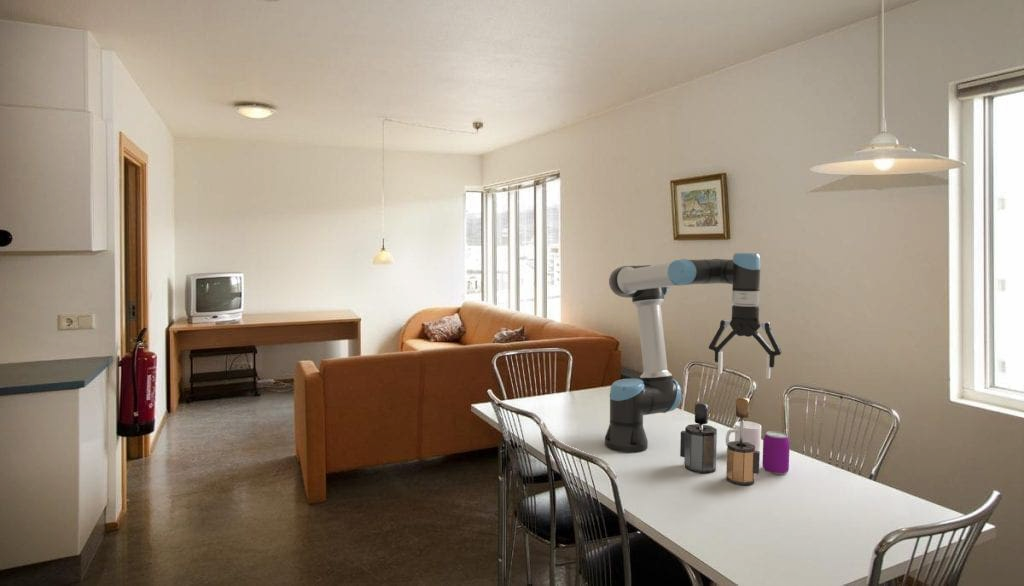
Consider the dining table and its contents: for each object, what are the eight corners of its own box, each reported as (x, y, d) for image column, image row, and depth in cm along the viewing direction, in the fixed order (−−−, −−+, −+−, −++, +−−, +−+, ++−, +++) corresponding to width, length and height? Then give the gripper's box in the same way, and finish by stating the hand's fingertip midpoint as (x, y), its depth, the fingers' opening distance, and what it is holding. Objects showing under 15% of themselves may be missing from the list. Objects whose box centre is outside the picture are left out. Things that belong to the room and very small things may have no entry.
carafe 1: (676, 469, 190) (677, 429, 189) (684, 459, 199) (685, 421, 198) (711, 475, 185) (712, 434, 184) (718, 466, 193) (719, 426, 192)
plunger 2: (730, 456, 180) (731, 398, 178) (733, 451, 184) (735, 395, 183) (748, 460, 177) (750, 401, 176) (751, 454, 181) (753, 397, 180)
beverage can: (768, 464, 194) (769, 428, 193) (792, 471, 189) (793, 434, 188) (758, 470, 189) (759, 433, 188) (782, 477, 183) (784, 439, 182)
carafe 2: (723, 482, 180) (724, 446, 179) (729, 473, 187) (730, 439, 186) (755, 488, 175) (757, 452, 174) (760, 479, 182) (761, 444, 181)
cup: (765, 457, 201) (766, 428, 200) (730, 458, 200) (731, 429, 199) (752, 449, 209) (753, 420, 208) (720, 450, 208) (720, 421, 207)
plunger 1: (687, 461, 190) (688, 404, 189) (692, 455, 196) (693, 400, 194) (708, 465, 187) (709, 407, 185) (713, 459, 192) (714, 402, 191)
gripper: (699, 304, 180) (698, 373, 182) (789, 308, 167) (787, 382, 169) (705, 302, 187) (704, 369, 188) (793, 305, 174) (790, 377, 175)
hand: (743, 375), depth 178 cm, fingers open, 13 cm apart
